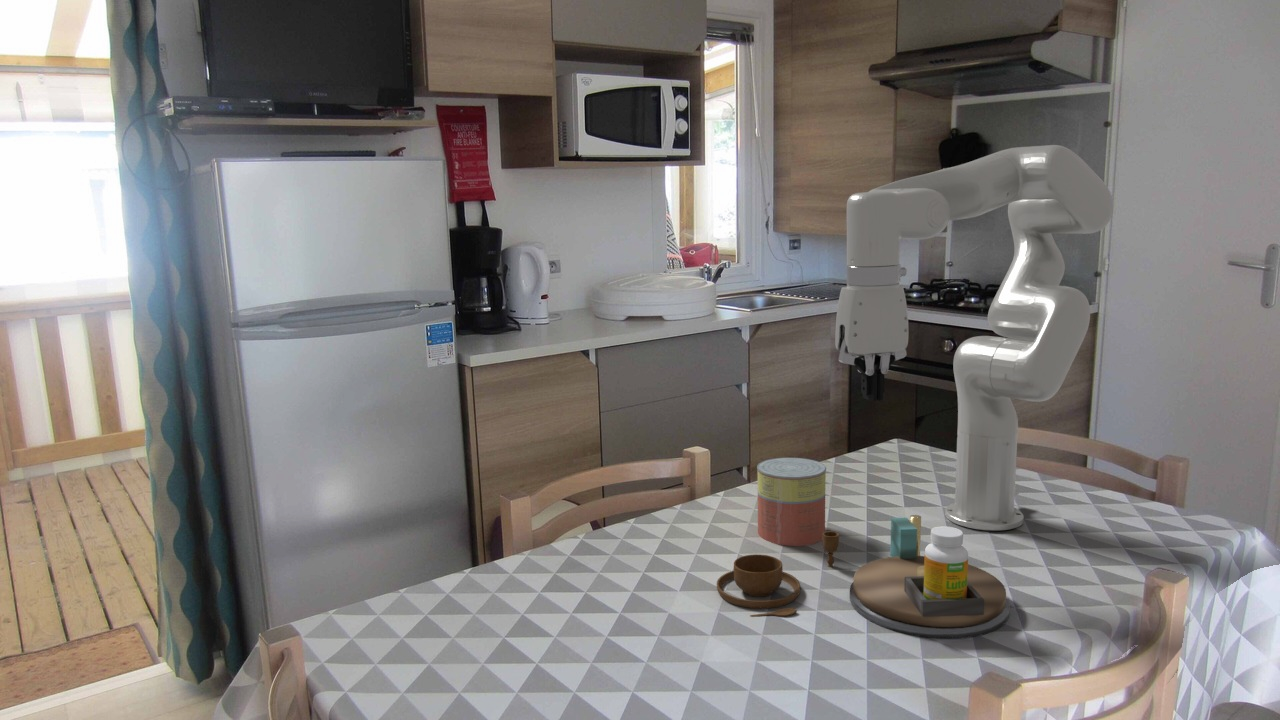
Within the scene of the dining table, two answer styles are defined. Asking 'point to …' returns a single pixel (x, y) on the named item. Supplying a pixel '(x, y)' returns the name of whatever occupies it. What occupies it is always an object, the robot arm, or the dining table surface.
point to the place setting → (768, 579)
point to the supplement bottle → (945, 565)
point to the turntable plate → (901, 586)
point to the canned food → (791, 501)
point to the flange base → (928, 630)
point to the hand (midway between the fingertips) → (872, 399)
